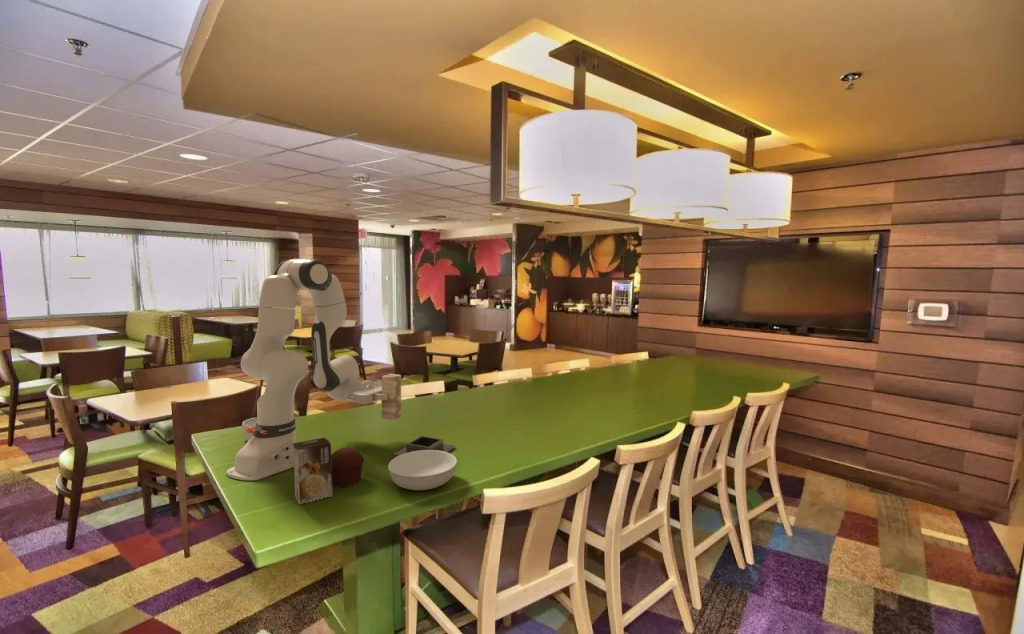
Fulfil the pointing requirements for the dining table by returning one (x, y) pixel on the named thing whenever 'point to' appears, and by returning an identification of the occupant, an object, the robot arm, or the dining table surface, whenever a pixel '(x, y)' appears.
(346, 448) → the muffin
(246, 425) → the ramekin
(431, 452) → the serving bowl
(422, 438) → the collar
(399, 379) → the pillar
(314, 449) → the printed cardboard box
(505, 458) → the dining table surface
